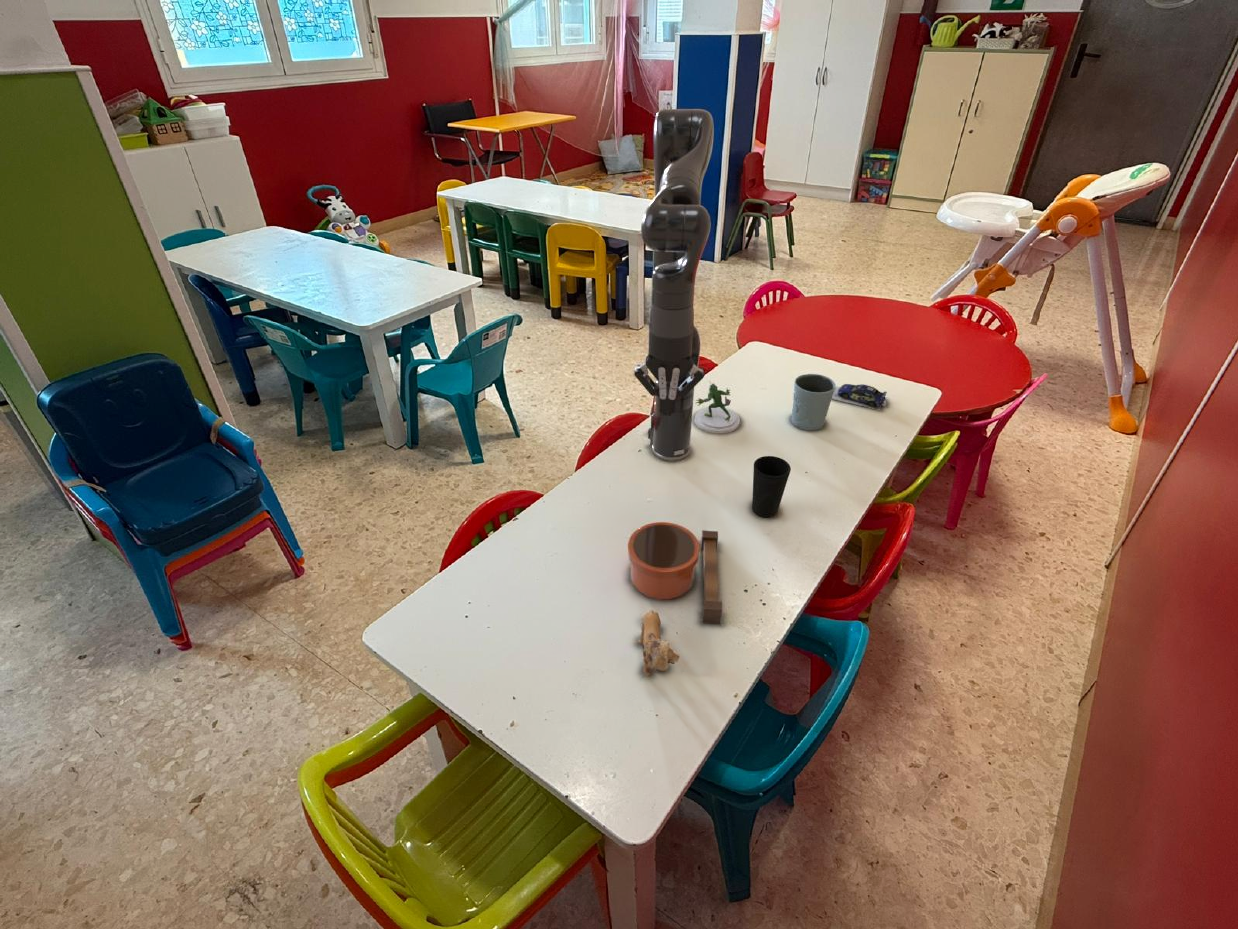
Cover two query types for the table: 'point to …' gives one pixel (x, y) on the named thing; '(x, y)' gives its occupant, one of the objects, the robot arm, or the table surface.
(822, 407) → the grey planter pot
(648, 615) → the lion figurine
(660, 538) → the terracotta pot
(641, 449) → the table surface
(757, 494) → the cup
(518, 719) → the table surface
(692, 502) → the table surface
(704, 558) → the oak rail
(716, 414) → the monster figurine
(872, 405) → the race car
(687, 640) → the table surface
